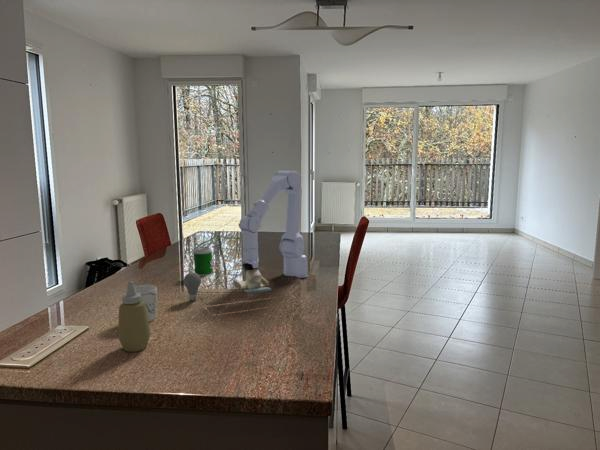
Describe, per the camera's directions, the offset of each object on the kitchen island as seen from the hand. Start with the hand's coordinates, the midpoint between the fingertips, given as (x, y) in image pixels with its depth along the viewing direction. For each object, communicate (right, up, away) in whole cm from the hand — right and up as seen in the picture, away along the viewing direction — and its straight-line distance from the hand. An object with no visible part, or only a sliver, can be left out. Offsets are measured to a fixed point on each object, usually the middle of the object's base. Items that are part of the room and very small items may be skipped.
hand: (251, 282), depth 170 cm
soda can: (-22, 0, +18) cm, 28 cm away
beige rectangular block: (+1, -1, -3) cm, 3 cm away
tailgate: (+2, -2, -4) cm, 5 cm away
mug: (-30, -8, -34) cm, 46 cm away
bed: (0, -2, +1) cm, 2 cm away
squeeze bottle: (-25, -11, -53) cm, 59 cm away
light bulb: (-19, -5, -14) cm, 24 cm away
